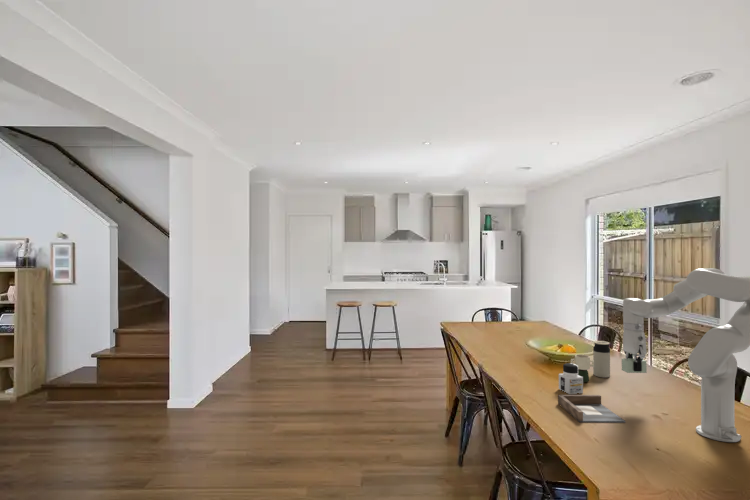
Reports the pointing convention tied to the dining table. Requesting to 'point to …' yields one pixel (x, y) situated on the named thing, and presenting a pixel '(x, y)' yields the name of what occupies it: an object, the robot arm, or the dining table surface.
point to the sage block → (628, 366)
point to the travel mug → (601, 359)
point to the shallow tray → (588, 408)
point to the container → (570, 379)
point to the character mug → (583, 365)
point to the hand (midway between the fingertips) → (633, 369)
